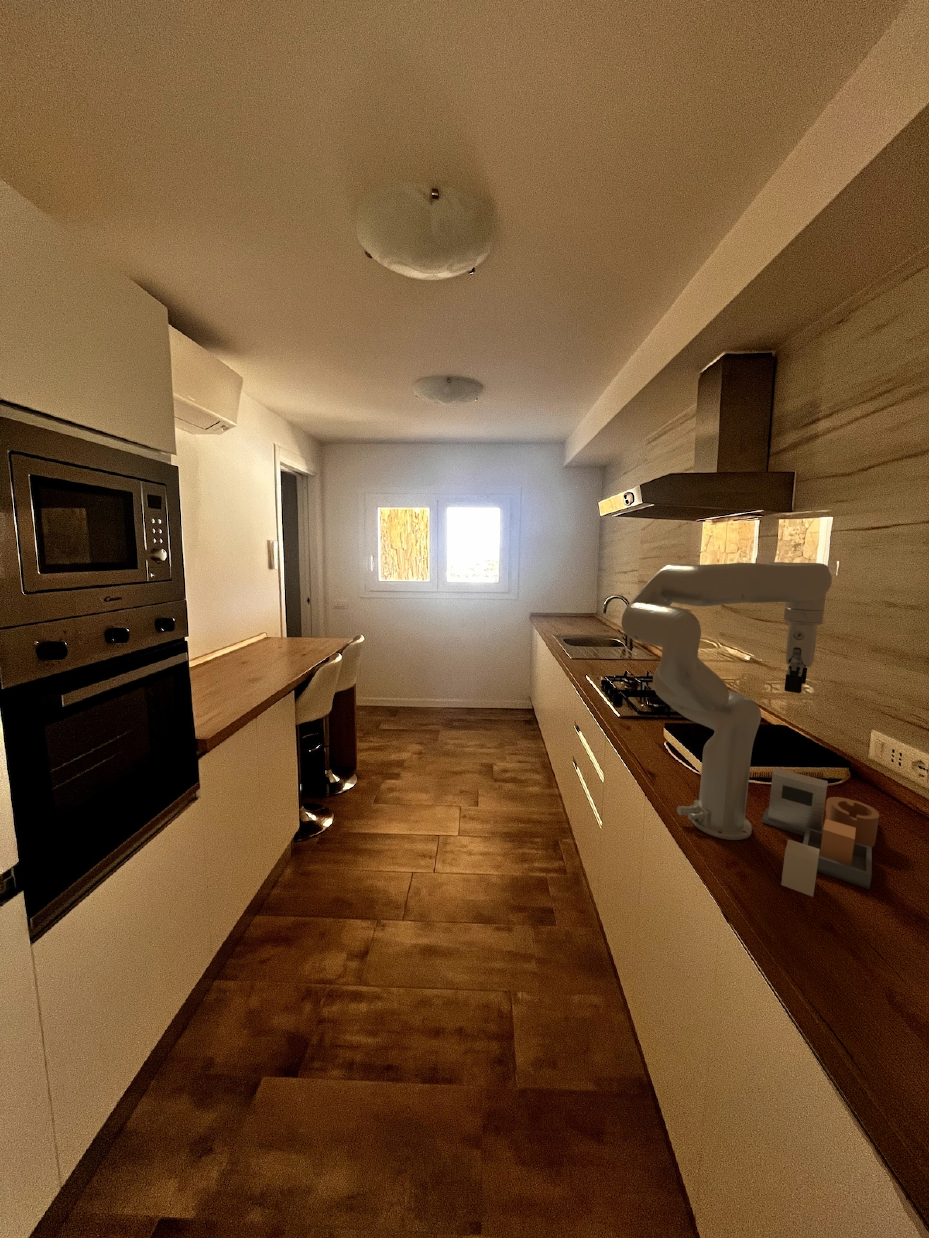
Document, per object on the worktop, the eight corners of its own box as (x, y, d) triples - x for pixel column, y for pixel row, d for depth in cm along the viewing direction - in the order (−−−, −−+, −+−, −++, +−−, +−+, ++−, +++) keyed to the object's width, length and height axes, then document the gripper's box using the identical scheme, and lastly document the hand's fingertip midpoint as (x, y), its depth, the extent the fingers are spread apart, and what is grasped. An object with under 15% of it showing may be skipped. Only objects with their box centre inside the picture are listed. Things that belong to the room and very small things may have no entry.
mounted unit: (761, 822, 114) (766, 774, 112) (765, 811, 118) (771, 765, 117) (825, 842, 106) (832, 791, 104) (827, 830, 111) (833, 780, 109)
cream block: (781, 884, 93) (785, 851, 92) (784, 871, 97) (788, 839, 96) (813, 896, 90) (817, 862, 89) (815, 882, 94) (819, 849, 93)
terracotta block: (818, 860, 99) (823, 829, 98) (821, 849, 103) (825, 818, 102) (850, 871, 96) (854, 839, 95) (851, 859, 100) (855, 827, 99)
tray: (799, 865, 99) (800, 851, 99) (805, 839, 107) (806, 827, 107) (869, 889, 92) (871, 875, 92) (869, 860, 101) (871, 847, 100)
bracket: (877, 853, 103) (882, 823, 102) (828, 840, 108) (832, 810, 107) (867, 814, 118) (871, 787, 117) (824, 803, 123) (827, 777, 121)
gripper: (819, 622, 105) (810, 699, 108) (825, 613, 118) (817, 682, 121) (778, 619, 110) (771, 692, 113) (789, 610, 123) (781, 676, 126)
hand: (795, 687), depth 117 cm, fingers open, 9 cm apart
